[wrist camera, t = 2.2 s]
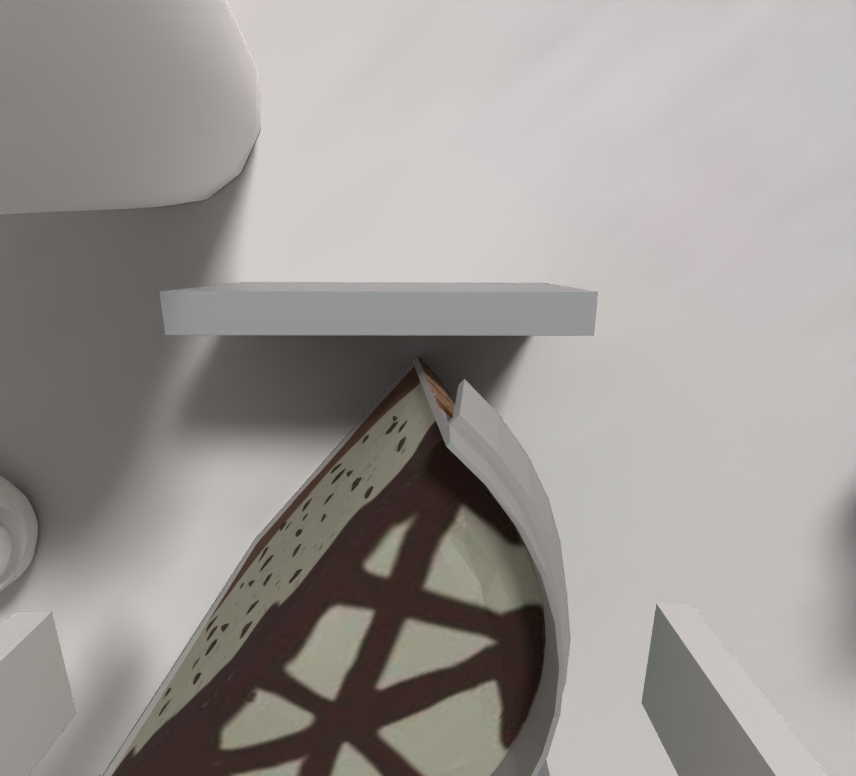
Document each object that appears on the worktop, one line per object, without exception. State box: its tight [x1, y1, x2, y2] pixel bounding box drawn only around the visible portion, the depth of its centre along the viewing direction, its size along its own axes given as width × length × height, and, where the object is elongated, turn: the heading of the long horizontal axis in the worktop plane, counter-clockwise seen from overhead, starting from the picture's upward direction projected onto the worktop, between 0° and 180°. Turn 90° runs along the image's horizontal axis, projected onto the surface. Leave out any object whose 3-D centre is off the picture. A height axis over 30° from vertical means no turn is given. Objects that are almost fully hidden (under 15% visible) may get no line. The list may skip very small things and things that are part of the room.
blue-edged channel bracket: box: [159, 282, 598, 776], centre depth 16 cm, size 12×31×7 cm, turn 0°
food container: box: [99, 356, 570, 776], centre depth 13 cm, size 12×6×10 cm, turn 139°
